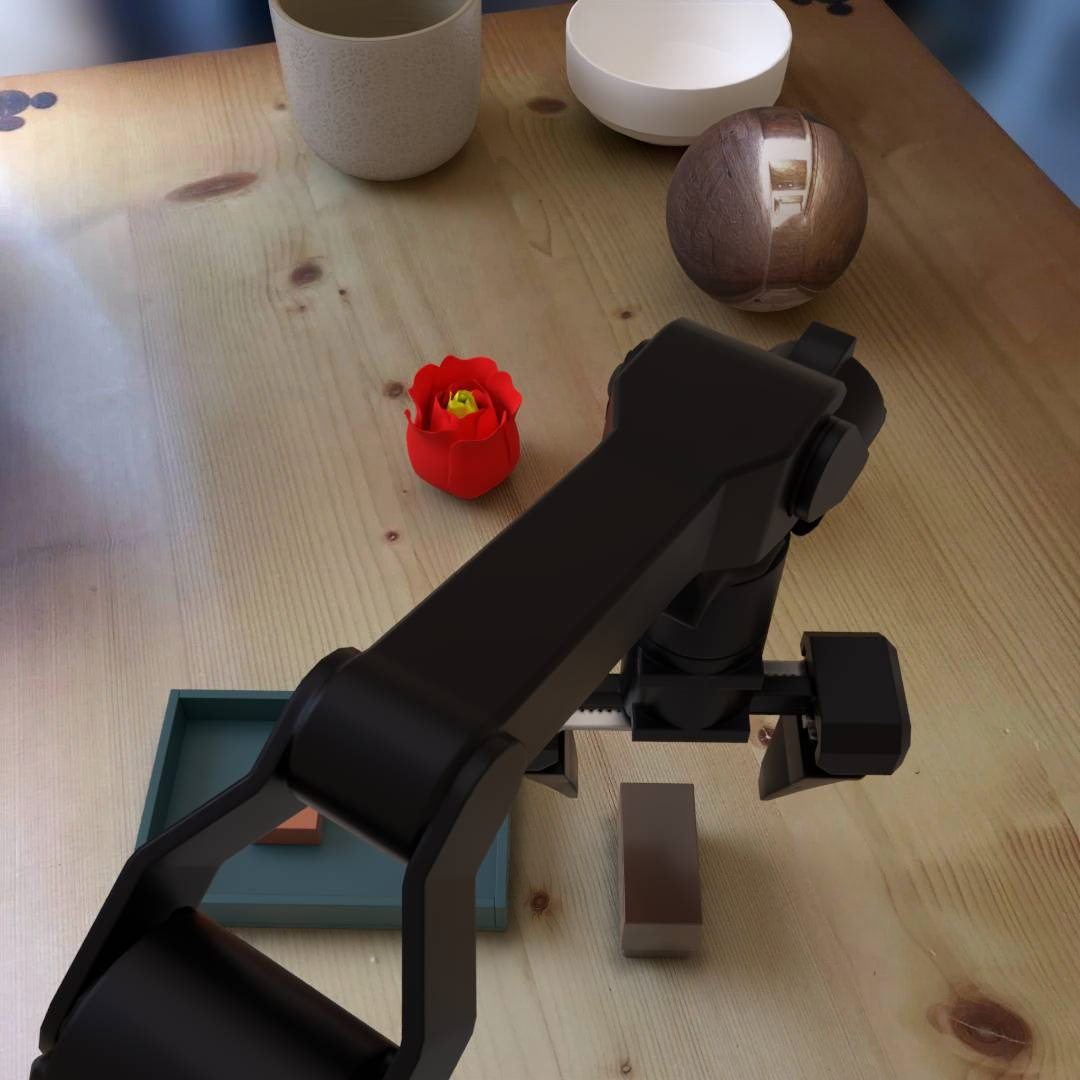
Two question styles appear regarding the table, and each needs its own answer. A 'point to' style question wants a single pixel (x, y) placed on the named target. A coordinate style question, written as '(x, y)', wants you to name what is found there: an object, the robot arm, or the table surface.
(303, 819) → the clay crumb
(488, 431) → the flower
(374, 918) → the tray
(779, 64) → the bowl
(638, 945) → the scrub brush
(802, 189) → the wooden sphere
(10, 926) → the table surface
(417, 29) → the planter
